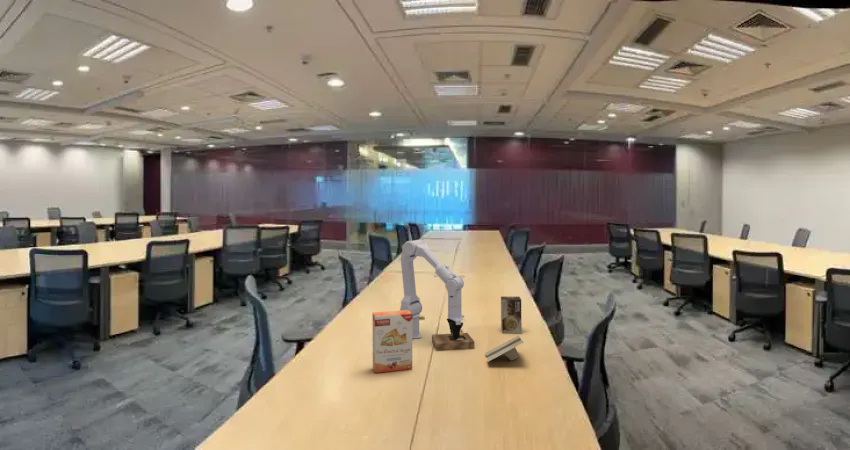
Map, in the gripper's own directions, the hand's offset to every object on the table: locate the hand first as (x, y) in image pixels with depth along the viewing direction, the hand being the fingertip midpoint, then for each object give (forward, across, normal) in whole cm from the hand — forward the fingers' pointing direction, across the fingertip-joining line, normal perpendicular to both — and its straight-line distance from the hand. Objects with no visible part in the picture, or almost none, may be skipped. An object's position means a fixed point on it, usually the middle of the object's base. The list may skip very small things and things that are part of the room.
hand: (454, 336), depth 179 cm
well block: (+3, 0, +1) cm, 4 cm away
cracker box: (+4, -22, +28) cm, 36 cm away
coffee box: (+4, +14, -30) cm, 33 cm away
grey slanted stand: (+4, -20, -15) cm, 25 cm away
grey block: (+2, 0, -1) cm, 3 cm away
